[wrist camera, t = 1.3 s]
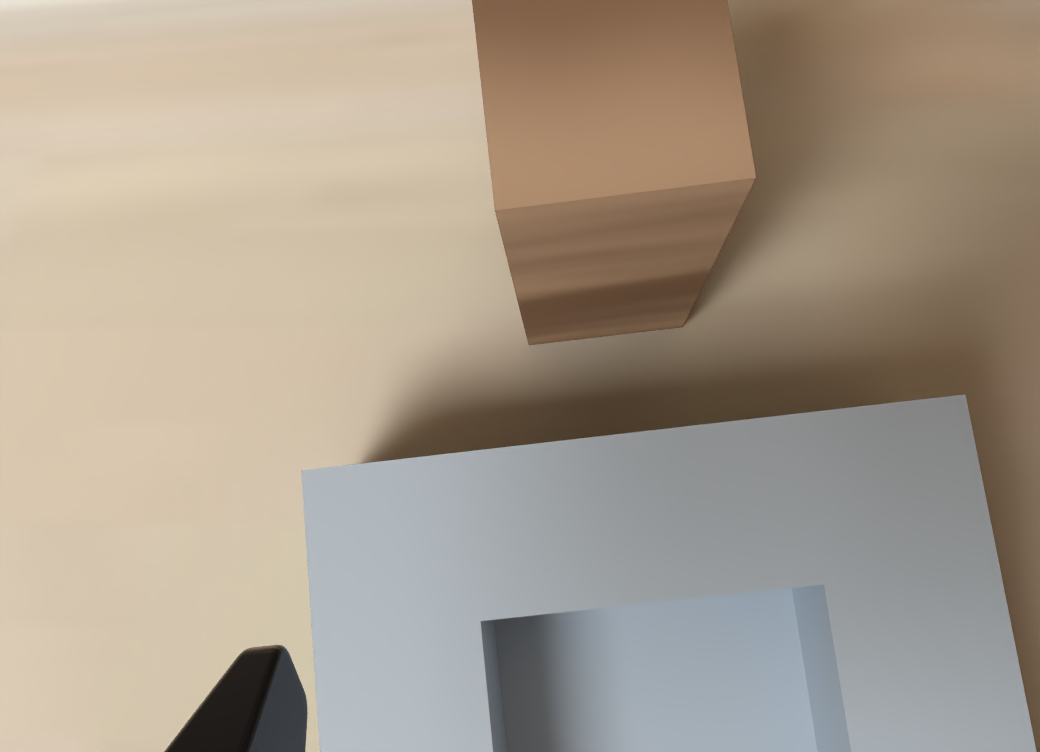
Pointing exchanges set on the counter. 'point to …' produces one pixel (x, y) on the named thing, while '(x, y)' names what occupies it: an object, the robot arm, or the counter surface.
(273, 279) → the counter surface
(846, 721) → the well block
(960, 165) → the counter surface
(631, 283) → the walnut post
